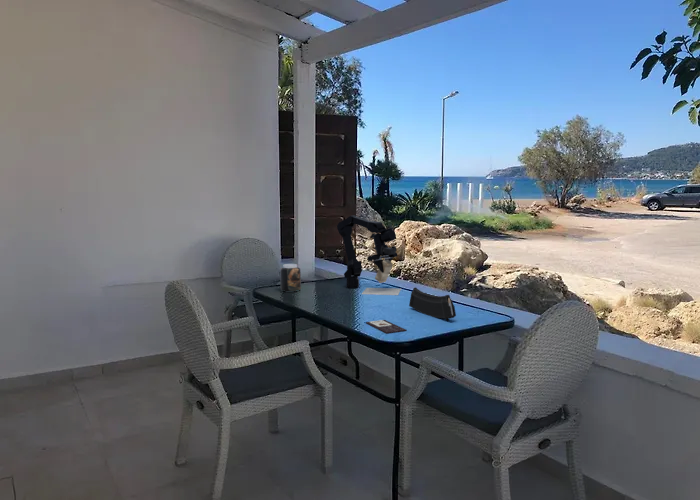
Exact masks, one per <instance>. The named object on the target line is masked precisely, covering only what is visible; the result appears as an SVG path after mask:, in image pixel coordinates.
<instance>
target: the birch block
mask: <svg viewBox="0 0 700 500" xmlns="http://www.w3.org/2000/svg"><path fill="white" fill-rule="evenodd" d="M382 263H383V269H384V272H383V273H382V272H381V271H380V269H379V268H378V270H377V272H376V275H375V277H374V279H375V280H376V281H377V282H378V283H380V284H382V283H386V281H387V279H388V277H389V275H390V273H391V270H392V268H393V267H394V263H392V261H391V262H390V261H389V260H385V259H383V262H382Z"/></svg>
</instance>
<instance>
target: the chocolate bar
mask: <svg viewBox="0 0 700 500" xmlns="http://www.w3.org/2000/svg"><path fill="white" fill-rule="evenodd" d="M365 324H366V325H369V326H370V327H372V328H374V329H376V330H378V331H380V332H382V333H384V334H385V335H388V334H395V333H403V332H407V329H406V328H403V327H402V326H399V325H397V324H395V323H392V322H390V321H388V320H386V319H380V320H373V321H366V322H365Z"/></svg>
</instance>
